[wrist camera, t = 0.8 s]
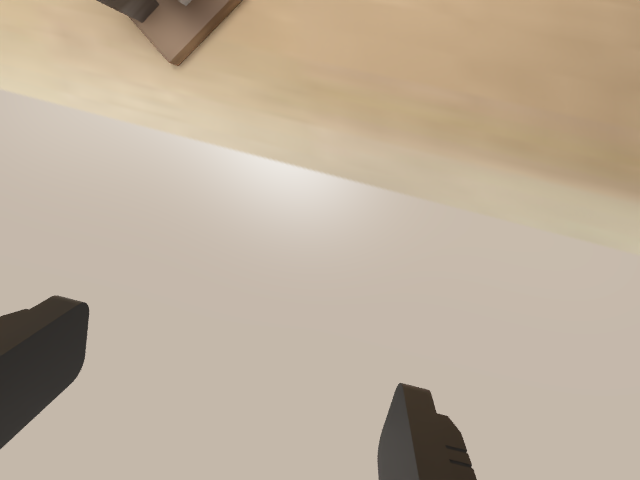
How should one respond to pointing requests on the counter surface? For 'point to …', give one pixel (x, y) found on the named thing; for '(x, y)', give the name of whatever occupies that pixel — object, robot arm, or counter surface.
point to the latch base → (175, 22)
